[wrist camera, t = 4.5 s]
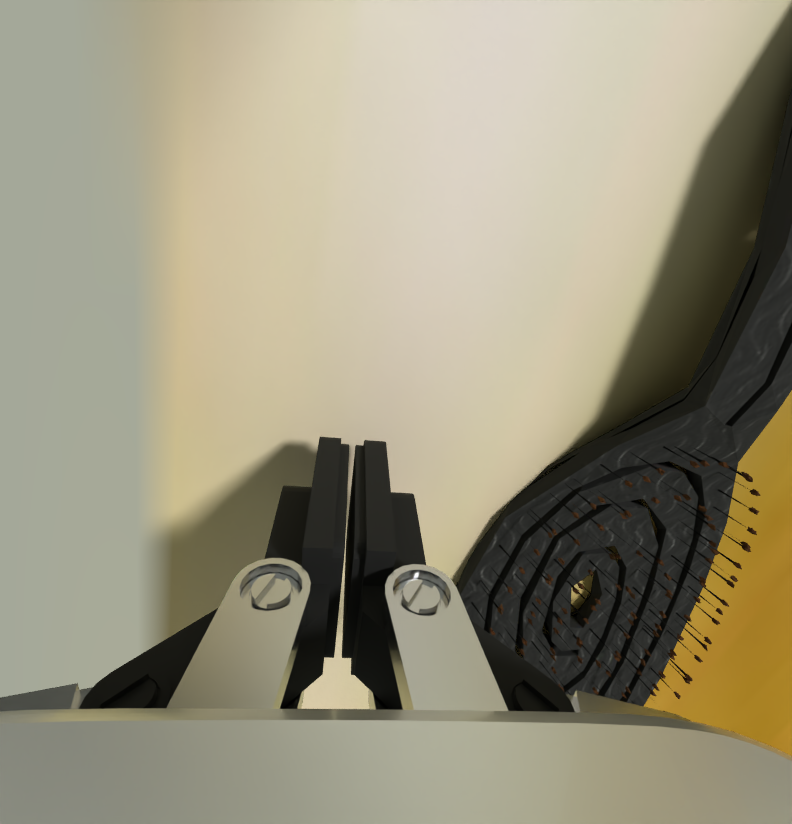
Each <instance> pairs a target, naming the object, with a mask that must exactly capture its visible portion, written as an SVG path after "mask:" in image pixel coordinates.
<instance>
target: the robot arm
mask: <svg viewBox="0 0 792 824" xmlns="http://www.w3.org/2000/svg"><path fill="white" fill-rule="evenodd" d="M348 460H349V445H347V444H341V438H328V437H320V439H319V445H318V451H317V458H316V464H315V471H314V477H313V483H312V487H297V486H283V489H282V492H281V496H280V500H279V504H278V508H277V512H276V516H275V520H274V524H273V528H272V532H271V536H270V540H269V544H268V548H267V552H266V556H265V559H262V560H259V561H256V562H254V563H251V564H249V565H248V566H246V567H245V568H244V569H242V570H241V571H240V572H239V573H238V574H237V576H236V577H235V578H234V580H233V581H232V583H231V585H230V587H229V589H228V591H227V593H226V595H225V597H224V599H223V600H222V602H221V604H220V606H219V608H217V609H216V610H214V611H212V612H211V613H209V614H207V615H206V616H204V617H202V618H201V619H199V620H197V621H196V622H194V623H192V624H191V625H189V626H187V627H186V628H184V629H182V630H181V631H179V632H177V633H176V634H174V635H173V636H171V637H169V638H168V639H166V640H164V641H163V642H161V643H159V644H158V645H156V646H154V647H153V648H151V649H149V650H148V651H146V652H144V653H143V654H141V655H139V656H138V657H136V658H134V659H133V660H131V661H129V662H128V663H126V664H124V665H123V666H121V667H119V668H118V669H116V670H114V671H113V672H111V673H110V674H108V675H107V676H106V677H104V678H103V679H102V680H100V681H99V682H98V683H97V684H96V685H95V686H94V687H93V688H87V689H82V690H79V687H78V684H72V685H66V686H61V687H56V688H50V689H45V690H40V691H34V692H29V693H24V694H18V695H13V696H8V697H2V698H0V824H792V756H790V755H788V754H786V753H784V752H782V751H780V750H778V749H776V748H774V747H772V746H769V745H767V744H764V743H761V742H759V741H756V740H753V739H751V738H748V737H745V736H743V735H740V734H738V733H735V732H732V731H728V730H725V729H721V728H717V727H713V726H710V725H706V724H702V723H697V722H692V721H690V720H688V719H686V718H683V717H681V716H678V715H676V714H672V713H668V712H664V711H660V710H656V709H652V708H648V707H643V706H639V705H635V704H631V703H627V702H623V701H619V700H615V699H611V698H606V697H602V696H598V695H594V694H590V693H586V692H582V691H578V690H576V692H575V694H574V696H572V695H568V694H565V693H564V691H563V690H562V689H561V688H560V687H559V686H558V685H557V684H556V683H555V682H554V681H553V680H551V679H550V678H549V677H547V676H546V675H545V674H543V673H542V672H541V671H539V670H538V669H537V668H535V667H534V666H532V665H531V664H530V663H528V662H527V661H526V660H524V659H523V658H522V657H520V656H519V655H518V654H516V653H515V652H513V651H512V650H511V649H509V648H508V647H507V646H505V645H504V644H503V643H501V642H500V641H498V640H497V639H496V638H494V637H493V636H492V635H490V634H489V633H488V632H486V631H485V630H484V629H482V628H481V627H479V626H478V625H477V624H475V623H474V622H473V621H471V620H470V618H469V616H468V614H467V611H466V609H465V606H464V604H463V602H462V599H461V597H460V595H459V592H458V590H457V588H456V586H455V585H454V583H453V581H452V580H451V579H450V578H449V577H448V576H447V575H446V574H444V573H443V572H441V571H439V570H438V569H436V568H434V567H430V566H426V562H425V556H424V550H423V544H422V538H421V533H420V527H419V521H418V515H417V509H416V503H415V498H414V495H413V494H410V493H393V492H391V490H390V479H389V469H388V459H387V449H386V442H382V441H368V440H365V441H364V446H360V445H356V447H355V457H354V466H353V476H352V486H351V496H350V506H349V516H348V526H347V538H346V562H345V588H344V615H343V641H342V658H351V675H355V676H356V677H357V678H358V679H359V680H360V681H361V682H362V683H363V684H364V685H365V686H367V687H368V688H369V691H368V702H369V708H370V709H301V707H302V703H303V696H304V690H305V689H306V688H307V687H308V686H309V685H310V684H312V683H313V682H314V681H315V680H316V679H317V678H319V677H320V676H321V675H322V674H323V663H324V657H332V658H334V652H335V642H336V632H337V622H338V612H339V602H340V593H341V583H342V573H343V563H344V551H345V533H346V509H347V484H348Z"/></svg>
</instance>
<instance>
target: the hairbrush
mask: <svg viewBox="0 0 792 824" xmlns="http://www.w3.org/2000/svg"><path fill="white" fill-rule="evenodd" d="M791 390H792V89H791V93H790V97H789V101H788V105H787V110H786V114H785V118H784V122H783V127H782V131H781V135H780V139H779V144H778V148H777V152H776V157H775V161H774V165H773V169H772V174H771V178H770V182H769V186H768V191H767V195H766V199H765V204H764V208H763V212H762V216H761V221H760V225H759V229H758V233H757V238H756V242H755V246H754V249H753V251H752V253H751V255H750V257H749V260H748V262H747V264H746V266H745V268H744V270H743V272H742V274H741V276H740V279H739V281H738V283H737V285H736V287H735V289H734V291H733V293H732V295H731V298H730V300H729V302H728V304H727V306H726V308H725V310H724V312H723V314H722V317H721V319H720V321H719V323H718V325H717V327H716V329H715V331H714V333H713V336H712V338H711V340H710V342H709V344H708V346H707V348H706V350H705V352H704V355H703V357H702V359H701V361H700V363H699V365H698V367H697V369H696V371H695V374H694V376H693V378H692V380H691V382H690V384H689V386H688V387H687V388H685V389H683V390H682V391H680V392H678V393H676V394H675V395H673V396H671V397H669V398H668V399H666V400H664V401H662V402H661V403H659V404H657V405H656V406H654V407H652V408H650V409H649V410H647V411H645V412H643V413H642V414H640V415H638V416H636V417H635V418H633V419H631V420H629V421H628V422H626V423H624V424H622V425H621V426H619V427H617V428H615V429H614V430H612V431H610V432H608V433H606V434H605V435H603V436H601V437H599V438H597V439H595V440H593V441H592V442H590V443H588V444H586V445H584V446H582V447H580V448H579V449H577V450H575V451H573V452H571V453H569V454H568V455H566V456H565V457H563V458H561V459H560V460H558V461H557V462H555V463H554V464H552V465H551V466H549V467H547V468H546V469H545V470H544V471H543V472H542V473H541V474H540V475H539V476H538V477H537V478H536V479H535V480H534V481H533V482H532V483H534V482H535V481H536V480H537V479H538V478H539V477H540V476H542V475H543V474H544V473H545V472H546V471H547V470H548V469H550V468H551V467H553V466H555V465H556V464H558V463H560V462H562V461H564V460H566V459H568V458H570V457H572V456H574V455H576V454H577V455H576V456H574V457H573V458H571V459H570V460H568V461H567V462H565V463H564V464H562V465H561V466H559V467H558V468H556V469H555V470H553V471H552V472H550V473H549V474H547V475H546V476H544V477H543V478H541V479H540V480H538V481H537V482H535V483H534V484H532V483H531V484H532V485H531V484H530V485H531V486H530V485H529V486H528V487H527V488H526V489H525V490H523V491H522V492H521V493H520V494H518V495H517V496H516V497H515V498H514V499H513V500H512V501H511V502H510V503H509V505H508V506H507V507H506V509H505V510H504V511H503V513H502V514H501V515H500V516H499V518H498V519H497V520H496V522H495V523H494V524H493V526H492V527H491V528H490V529H489V531H488V532H487V533H486V535H485V536H484V537H483V539H482V540H481V541H480V543H479V544H478V546H477V547H476V549H475V550H474V552H473V554H472V555H471V557H470V558H469V560H468V563H467V565H466V567H465V569H464V571H463V573H462V575H461V578H460V580H459V583H458V582H457V583H458V585H456V587H457V590H458V592H459V595H460V597H461V599H462V602H463V604H464V606H465V609H466V611H467V614H468V616H469V618H470V620H471V621H473V622H474V623H475V624H477V625H478V626H479V627H481V628H482V629H484V630H485V631H486V632H488V633H489V634H490V635H492V636H493V637H494V638H496V639H497V640H498V641H500V642H501V643H503V644H504V645H505V646H507V647H508V648H509V649H511V650H512V651H513V652H515V653H516V649H515V644H516V645H517V647H518V648H519V650H520V653H521V656H522V657H523V659H524V660H526V661H527V662H528V663H530V664H531V665H532V666H534V667H535V668H537V669H538V670H539V671H541V672H542V673H543V674H545V675H546V676H547V677H549V678H550V679H551V680H553V681H554V682H555V683H556V684H557V685H558V686H559V687H560V688H561V689H562V690H563V691H564V693H565V694H568V695H572V696H574V694H575V692H576V690H578V691H582V692H586V693H590V694H594V695H598V696H602V697H606V698H611V699H615V700H619V701H623V702H627V703H631V704H635V705H639V706H644V704H645V703H646V701H647V699H648V698H649V696H650V694H652V695H654V696H656V695H655V693H654V692H653V689H654V688H655V689H656V690H658V691H659V689H658V687H657V686H656V684H657V683H658V681H659V679H661V680H662V678H664V679H665V677H666V676H665V675H664V674H663V671H664V669H665V667H666V665H667V663H669V662H668V661H669V659H670V658H671V659H673V660H675V659H674V656H677V655H676V654H675V652H674V651H673V650H674V648H675V646H676V644H677V642H678V641H679V640H678V639H680V640H683V639H684V638H682V637H681V636H680V635H681V633H682V631H683V629H685V628H684V627H685V625H686V623H688V622H687V620H688V621H691V619H690V617H689V616H690V614H691V612H692V610H693V608H694V605H696V604H695V603H696V601H697V602H698V603H701V602H700V599H699V598H698V597H699V596H700V597H702V596H701V595H700V593H701V591H702V588H703V587H704V588H705V587H706V585H705V583H706V578H707V575H708V573H709V570H710V569H711V568H710V567H711V565H712V563H713V564H714V562H713V559H714V556H715V555H717V554H719V553H720V552H719V551H717V548H718V545H719V543H720V540H721V537H722V534H724V533H723V532H724V529H725V526H726V524H727V519H728V517H730V516H728V514H729V508H730V503H731V498H732V492H733V487H734V482H736V481H735V477H736V473H738V474H739V475H741V476H743V477H744V478H745V479H746V480H747V481H749V482H753V478H752V477H750V476H749V474H747V473H744V472H742V474H741V473H739V471H738V472H737V466H738V462H739V461H740V459H741V458H742V457H743V456H744V454H745V453H746V452H747V450H748V449H749V448H750V446H751V445H752V444H753V442H754V441H755V440H756V438H757V437H758V436H759V435H760V433H761V432H762V431H763V429H764V428H765V427H766V425H767V424H768V423H769V421H770V420H771V419H772V417H773V416H774V415H775V414H776V412H777V411H778V409H779V408H780V407H781V405H782V404H783V402H784V401H785V399H786V398H787V396H788V395H789V393H790V392H791ZM669 461H670V462H672V463H675V464H677V465H679V466H681V467H683V468H685V469H686V470H687V477H688V479H687V477H686V475H685V474H684V473H683V472H682V471H680V470H679V469H677V468H676V467H674V466H673V465H672V464H671V463H670V462H669ZM736 483H737V482H736ZM738 484H739V483H738ZM692 485H693V487H692ZM740 485H741V484H740ZM742 486H743V485H742ZM693 488H694V489H693ZM747 489H748V488H747ZM749 490H750V489H749ZM750 492H751V494H753V495H756V496H761V495H760V494H759V493H758V491H756V490H754V489H753V490H750ZM638 499H644V500H645V501H646V503H647V505H648V507H649V509H650V512H651V515H652V518H653V520H654V523H655V525H656V527H657V529H658V530H657V535H656V536H655V533H654V529H653V526H652V522H651V519H650V515H649V512H648V509H647V508H646V507H645V506H644V505H643V504H641V503H640V502H639V501H636V500H638ZM732 499H734V498H732ZM734 500H735V501H737V500H736V499H734ZM737 502H739V501H737ZM739 503H740V502H739ZM741 504H742V503H741ZM743 505H744V504H743ZM744 506H745V505H744ZM746 507H747V506H746ZM748 510H750V511H751V512H753V513H754V514H756V515H757V513H758V512H759V511H757V510H756V509H755V508H753V507H752V508H749V509H748ZM730 518H731V517H730ZM731 519H733V518H731ZM733 520H734V519H733ZM735 521H736V520H735ZM736 522H738V521H736ZM738 523H739V522H738ZM740 524H741V523H740ZM741 525H742V524H741ZM743 526H744V525H743ZM746 528H747V527H746ZM747 530H748V531H749V532H750V533H752V534H755V535H757V534H756V531H754V530H753V529H752V528H749V527H748V529H747ZM724 535H725V534H724ZM726 536H727V535H726ZM727 537H729V536H727ZM729 538H730V537H729ZM730 539H732V538H730ZM736 539H737V538H736ZM732 540H733V539H732ZM733 541H735V540H733ZM739 541H740V540H739ZM735 542H736V541H735ZM736 543H738V542H736ZM740 543H741V544H743V545H741V544H739V543H738V544H739V545H741V546H742V548H743V549H744V550H745V551H748V552H751V551H750V548H751V547H750V546H749V545H748V544H747V543H745V542H740ZM610 546H615V547H616V549H617V551H618V554H616V553H614V552H613V551H612V552H613V553H614V554H615V556H614V555H613V554H612V553H611V552H610V551H611V550H610V549H609V548H608V547H610ZM605 547H607V548H608V549H609V550H610V551H608V550H607V549H606V548H605ZM720 554H721V555H722V556H724V557H725V558H726V559H728V560H729V561H731V562H732V563H733V564H734V565H735V566H736V567H737V568H740V569H742V568H741V565H740V564H739V563H736V562H734V561H732V560H731V559H729V558H728V557H726V556H725V555H723V554H722V553H720ZM616 558H618V564H617V562H616V560H615V559H616ZM714 565H715V564H714ZM717 567H718V566H717ZM711 570H712V569H711ZM721 570H722V569H721ZM593 571H594V574H593ZM712 571H713V572H715V571H714V570H712ZM715 573H716V572H715ZM589 574H590V575H591V576H593V575H594V576H593V582H592V590H591V593H590V592H589V593H590V594H591V595H590V597H589V598H588V596H587V598H588V600H587V598H586V599H585V598H584V597H583V596H582V595H581V594H580V593H579V592H578V591H579V590H577V589H576V588H575V587H574V585H575V584H578V586H579V588H581V589H584V587H583V584H580V583H578V582H579V581H581V580H582V579H584V578H585V577H586V576H588V575H589ZM716 574H717V575H718V576H720V577H721V578H722V579H724V580H725V581H726V582H727V584H728V585H730V586H731V587H732V588H734V584H733V582H731V581H729V580H726V579H725V578H723V577H722V576H721V575H719V574H718V573H716ZM728 575H729V574H728ZM730 578H731V579H732V580H733V581H735V582H737V581H738V580H737V579H736V577H734V576H731V577H730ZM571 587H572V588H573V591H574V592H575V593H576V594H578V593H579V594H580V595H581V596H582V597H583V598H584V599H585V602H586V603H585V602H584V604H583V605H582V606H581V607H580V609H579V610H577V609H576V608H575V607H574V606H573V605H572V604H571ZM705 589H706V590H708V589H707V588H705ZM708 591H709V590H708ZM709 592H710V593H711V594H712V595H714V596H715V597H716V598H717V599H718V600H720V602H721V603H722V604H723V605H725V606H728V607H729V605H728V604H727V603H726V602H725V601H724V600H723V599H722V600H721V599H720V598H719V597H717V596H716V595H715V594H713V593H712V592H711V591H709ZM702 598H703V597H702ZM520 599H521V600H520ZM703 599H704V598H703ZM704 600H705V599H704ZM706 601H707V600H706ZM707 602H708V601H707ZM708 603H709V602H708ZM709 604H710V603H709ZM571 606H572V607H573V608H574V609H575V610H576V611H574V612H572V613H570V611H571ZM696 606H697V605H696ZM712 606H713V605H712ZM697 607H698V606H697ZM713 607H714V606H713ZM519 608H520V611H519ZM698 608H699V607H698ZM700 609H701V608H700ZM701 610H702V609H701ZM578 611H579V612H578ZM702 611H703V610H702ZM716 611H717V612H718V613H719V614H721V615H723V614H722V611H721V610H720V609H719V608H717V609H716ZM703 612H704V611H703ZM575 613H578V614H577V616H576V617H570V616H571V615H573V614H575ZM704 613H706V612H704ZM706 614H707V613H706ZM707 615H708V614H707ZM708 616H709V615H708ZM518 617H519V622H518ZM709 617H710V618H711V619H712V621H713V622H714V623H715V624H716V625H718V624H720V623H719V621H717V620H715V619H714V618H712V617H711V616H709ZM544 621H545V626H546V622H547V626H548V627H547V626H546V630H547V631H548V632H549V634H550V635H548V634H545V633H543V630H542V628H543V625H544ZM688 624H689V623H688ZM689 625H690V624H689ZM690 626H691V625H690ZM691 627H692V626H691ZM692 628H693V627H692ZM694 629H695V628H694ZM685 630H686V629H685ZM695 630H696V629H695ZM686 631H687V630H686ZM696 631H697V630H696ZM687 632H688V633H689V634H690V635H692V634H691V633H690V632H689V631H687ZM697 632H698V631H697ZM698 633H699V632H698ZM692 636H693V635H692ZM693 637H694V636H693ZM516 638H517V643H516ZM694 638H695V639H696V640H697V641H698V642H699V643H700V644H701V645H702V646H703V648H704V649H706V650H707V645H705V644H703V643H701V642H700V641H699V640H698V639H697V638H696V637H694ZM704 638H705V640H704V641H706V642H707V643H709V644H712V643H711V641H710V640H709V639H708V637H704ZM679 642H680V641H679ZM680 643H681V642H680ZM681 644H682V643H681ZM682 645H683V644H682ZM683 646H684V645H683ZM684 647H685V646H684ZM685 648H686V647H685ZM691 653H692V652H691ZM516 654H517V653H516ZM692 654H693V653H692ZM673 655H674V656H673ZM693 655H694V654H693ZM694 656H695V657H694V658H695V659H696V660H697V661H698V662H703V661H702V660H701V659H700V658H699V657H698V656H696V655H694ZM671 659H670V660H671ZM671 661H672V660H671ZM672 663H673V664H674V665H675V666H676V667H677V668H678V669H679V670H680V671H681V672H682V673H683V674H684V675H685V677H686V678H684V677H683V676H682V675H681V674H680V673H679V672H678V671H677V670H676V669H675V668H674V667H673V666H672V665H671V664H670V663H669V664H670V665H671V666H672V667H673V668H674V669H675V670H676V671H677V672H678V673H679V674H680V675H681V676H682V677H683V679H684V680H685V682H686V683H688V684H690V682H689V681H693V680H692V678H691V677H690V676H689V675H687V674H686V673H685V672H684V671H683V670H681V669H680V668H679V667H678V666H677V665H676V664H675V663H674V662H673V661H672ZM661 677H662V678H661ZM662 681H663V680H662ZM663 682H664V681H663ZM664 683H665V682H664ZM665 684H666V683H665ZM666 685H667V684H666ZM667 686H668V685H667ZM668 687H669V686H668ZM669 688H670V687H669ZM670 689H671V688H670ZM674 693H675V695H676V697H677V698H678V699H679V698H680V695H679V694H678V693H676V692H674ZM653 701H654V700H653ZM664 712H665V711H664Z"/></svg>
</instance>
